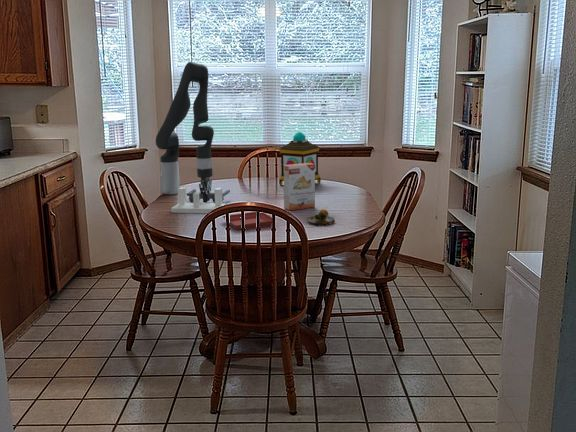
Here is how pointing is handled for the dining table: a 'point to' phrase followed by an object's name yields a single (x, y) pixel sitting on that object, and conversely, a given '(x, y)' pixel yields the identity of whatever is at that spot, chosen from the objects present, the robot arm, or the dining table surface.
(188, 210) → the display stand
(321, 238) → the dining table surface
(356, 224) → the dining table surface
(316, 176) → the decorative lantern
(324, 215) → the small succulent plant
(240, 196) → the dining table surface
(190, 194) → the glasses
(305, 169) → the cracker box
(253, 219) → the plant saucer
